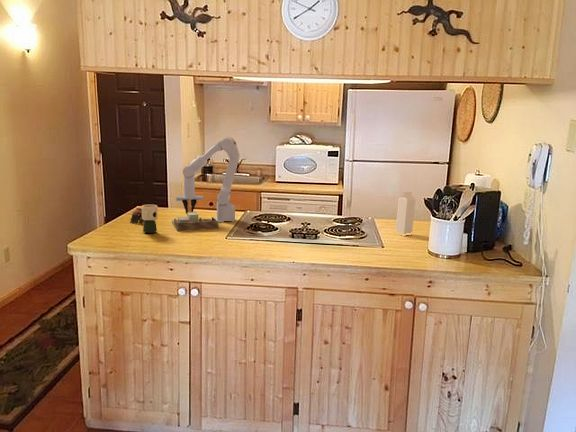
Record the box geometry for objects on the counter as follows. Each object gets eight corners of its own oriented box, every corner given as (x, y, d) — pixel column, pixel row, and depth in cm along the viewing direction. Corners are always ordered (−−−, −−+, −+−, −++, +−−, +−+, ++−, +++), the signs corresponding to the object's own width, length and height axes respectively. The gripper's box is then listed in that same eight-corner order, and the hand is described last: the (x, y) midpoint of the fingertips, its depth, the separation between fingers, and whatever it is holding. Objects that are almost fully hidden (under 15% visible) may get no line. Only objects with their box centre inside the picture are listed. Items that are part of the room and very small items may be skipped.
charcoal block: (186, 224, 253) (186, 216, 252) (189, 227, 247) (189, 219, 246) (177, 225, 251) (177, 217, 250) (179, 227, 246) (179, 220, 245)
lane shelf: (210, 220, 267) (210, 213, 266) (218, 229, 251) (218, 221, 250) (171, 222, 260) (171, 214, 259) (177, 231, 243) (177, 223, 243)
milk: (395, 234, 256) (398, 191, 252) (403, 232, 260) (407, 190, 255) (404, 236, 252) (407, 193, 247) (412, 235, 255) (416, 192, 250)
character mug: (154, 235, 234) (154, 208, 231) (139, 235, 234) (138, 207, 231) (160, 230, 244) (160, 203, 241) (145, 229, 244) (145, 203, 241)
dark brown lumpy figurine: (126, 222, 259) (132, 207, 261) (143, 228, 263) (149, 214, 265) (133, 221, 249) (139, 205, 251) (151, 228, 253) (156, 213, 255)
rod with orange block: (193, 215, 270) (193, 206, 269) (198, 222, 258) (198, 212, 256) (184, 216, 269) (184, 206, 267) (189, 222, 256) (189, 212, 255)
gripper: (176, 190, 259) (176, 215, 262) (204, 189, 264) (204, 214, 267) (174, 187, 265) (174, 212, 268) (201, 187, 271) (201, 211, 274)
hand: (189, 213), depth 268 cm, fingers closed on rod with orange block, 2 cm apart
